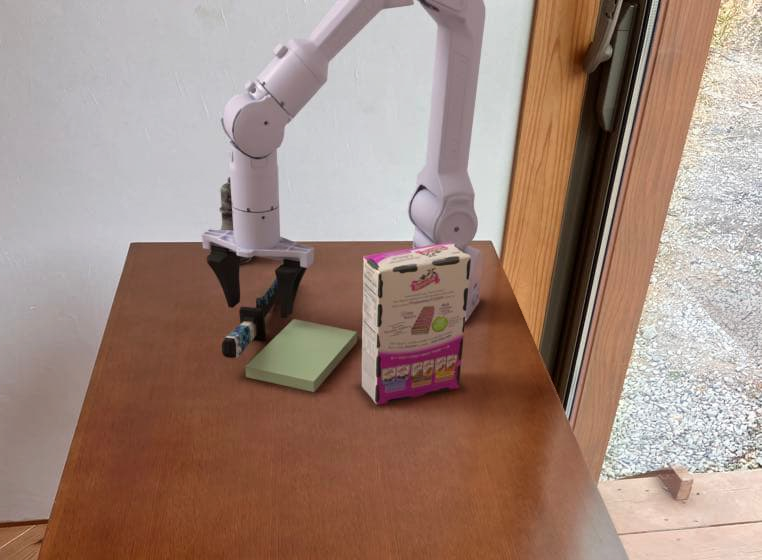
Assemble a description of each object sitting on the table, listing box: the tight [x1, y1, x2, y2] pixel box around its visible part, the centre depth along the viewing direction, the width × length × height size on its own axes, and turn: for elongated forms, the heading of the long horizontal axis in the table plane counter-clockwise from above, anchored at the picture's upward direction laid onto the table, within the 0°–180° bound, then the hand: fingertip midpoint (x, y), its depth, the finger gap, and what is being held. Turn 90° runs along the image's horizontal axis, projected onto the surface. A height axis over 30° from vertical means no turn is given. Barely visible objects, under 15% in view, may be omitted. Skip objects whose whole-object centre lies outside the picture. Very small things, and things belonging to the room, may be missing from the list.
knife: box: [221, 277, 280, 361], centre depth 116 cm, size 31×3×4 cm, turn 167°
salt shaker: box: [218, 176, 253, 265], centre depth 131 cm, size 6×6×12 cm
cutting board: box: [245, 318, 358, 393], centre depth 111 cm, size 9×14×2 cm, turn 159°
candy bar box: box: [361, 242, 471, 406], centre depth 101 cm, size 11×5×16 cm, turn 114°
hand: (260, 309), depth 116 cm, fingers open, 7 cm apart
